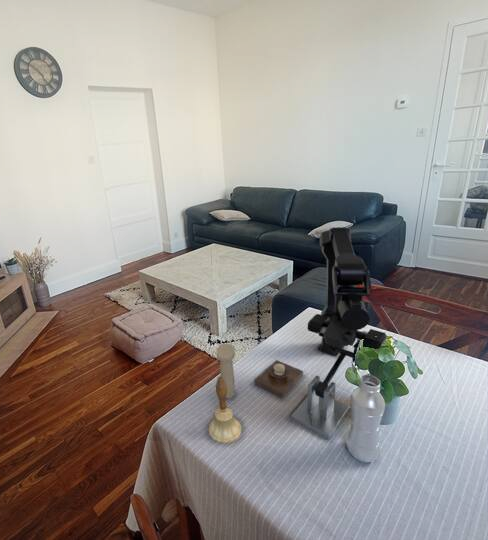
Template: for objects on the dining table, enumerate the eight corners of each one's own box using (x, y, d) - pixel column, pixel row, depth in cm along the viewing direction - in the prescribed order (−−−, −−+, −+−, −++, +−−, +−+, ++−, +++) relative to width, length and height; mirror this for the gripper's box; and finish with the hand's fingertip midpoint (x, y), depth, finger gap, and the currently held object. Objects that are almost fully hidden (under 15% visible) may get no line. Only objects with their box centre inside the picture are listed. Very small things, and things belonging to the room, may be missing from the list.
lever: (336, 350, 94) (336, 344, 93) (355, 356, 90) (355, 350, 89) (309, 392, 85) (309, 386, 84) (329, 401, 82) (328, 395, 80)
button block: (276, 364, 106) (276, 355, 105) (303, 376, 100) (303, 366, 99) (254, 385, 99) (254, 375, 97) (282, 398, 93) (282, 388, 91)
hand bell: (232, 448, 79) (228, 394, 73) (202, 435, 83) (196, 382, 78) (247, 423, 85) (244, 372, 80) (218, 412, 90) (214, 362, 84)
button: (277, 367, 100) (277, 362, 100) (286, 371, 98) (286, 366, 98) (271, 372, 98) (271, 367, 98) (281, 377, 96) (281, 372, 96)
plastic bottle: (365, 472, 71) (374, 396, 64) (339, 449, 76) (345, 377, 69) (385, 458, 73) (396, 384, 66) (358, 436, 79) (366, 366, 72)
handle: (237, 387, 98) (234, 343, 93) (236, 403, 92) (234, 357, 87) (220, 387, 99) (217, 343, 94) (219, 403, 93) (215, 357, 88)
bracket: (312, 393, 94) (313, 364, 90) (349, 410, 87) (352, 379, 83) (290, 419, 86) (291, 388, 82) (329, 440, 79) (331, 407, 75)
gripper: (297, 311, 87) (297, 361, 93) (375, 334, 74) (369, 389, 80) (317, 294, 94) (316, 341, 100) (390, 312, 81) (384, 364, 87)
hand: (343, 357), depth 92 cm, fingers closed on lever, 5 cm apart
